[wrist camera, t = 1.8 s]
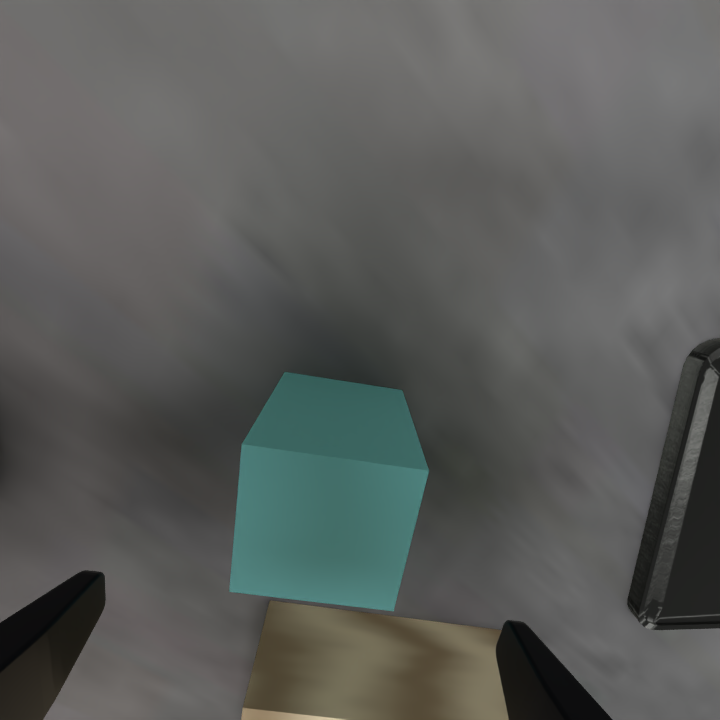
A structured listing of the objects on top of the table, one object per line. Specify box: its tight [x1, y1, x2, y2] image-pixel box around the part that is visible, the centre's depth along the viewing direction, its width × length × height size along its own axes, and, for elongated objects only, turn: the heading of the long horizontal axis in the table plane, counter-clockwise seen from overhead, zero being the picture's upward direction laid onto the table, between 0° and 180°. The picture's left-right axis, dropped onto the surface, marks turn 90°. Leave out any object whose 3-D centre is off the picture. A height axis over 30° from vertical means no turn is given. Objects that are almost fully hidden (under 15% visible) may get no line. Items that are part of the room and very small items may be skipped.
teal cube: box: [229, 372, 429, 611], centre depth 13 cm, size 5×5×6 cm
